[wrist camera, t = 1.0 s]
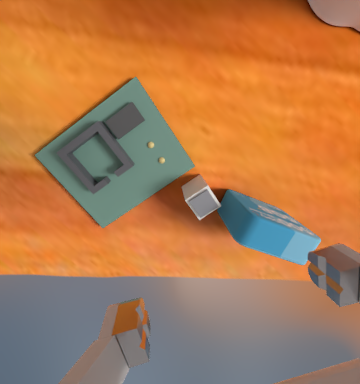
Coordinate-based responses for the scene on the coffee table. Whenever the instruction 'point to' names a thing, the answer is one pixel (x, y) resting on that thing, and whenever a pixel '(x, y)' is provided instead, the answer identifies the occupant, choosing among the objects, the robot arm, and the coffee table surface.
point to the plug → (200, 197)
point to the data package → (266, 228)
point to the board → (116, 155)
